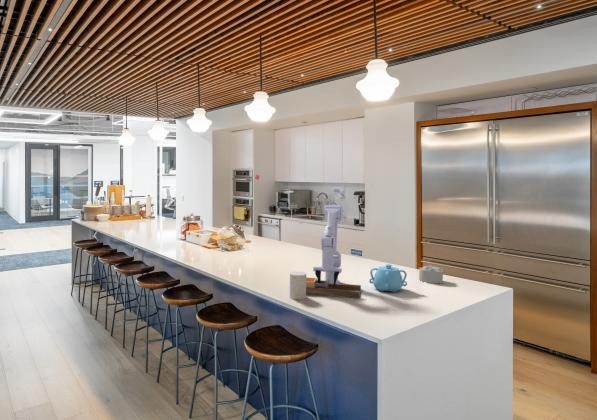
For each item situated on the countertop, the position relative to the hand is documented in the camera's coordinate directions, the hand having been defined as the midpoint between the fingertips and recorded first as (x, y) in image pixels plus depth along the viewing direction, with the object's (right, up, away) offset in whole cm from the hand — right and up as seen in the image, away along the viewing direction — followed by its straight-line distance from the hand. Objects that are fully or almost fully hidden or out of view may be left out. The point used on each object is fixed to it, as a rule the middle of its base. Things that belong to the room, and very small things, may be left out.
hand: (327, 285), depth 219 cm
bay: (0, -4, 0) cm, 4 cm away
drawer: (-7, -2, +2) cm, 8 cm away
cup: (-15, -4, -9) cm, 18 cm away
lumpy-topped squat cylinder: (+62, -3, +27) cm, 68 cm away
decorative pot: (+33, -4, +8) cm, 34 cm away
